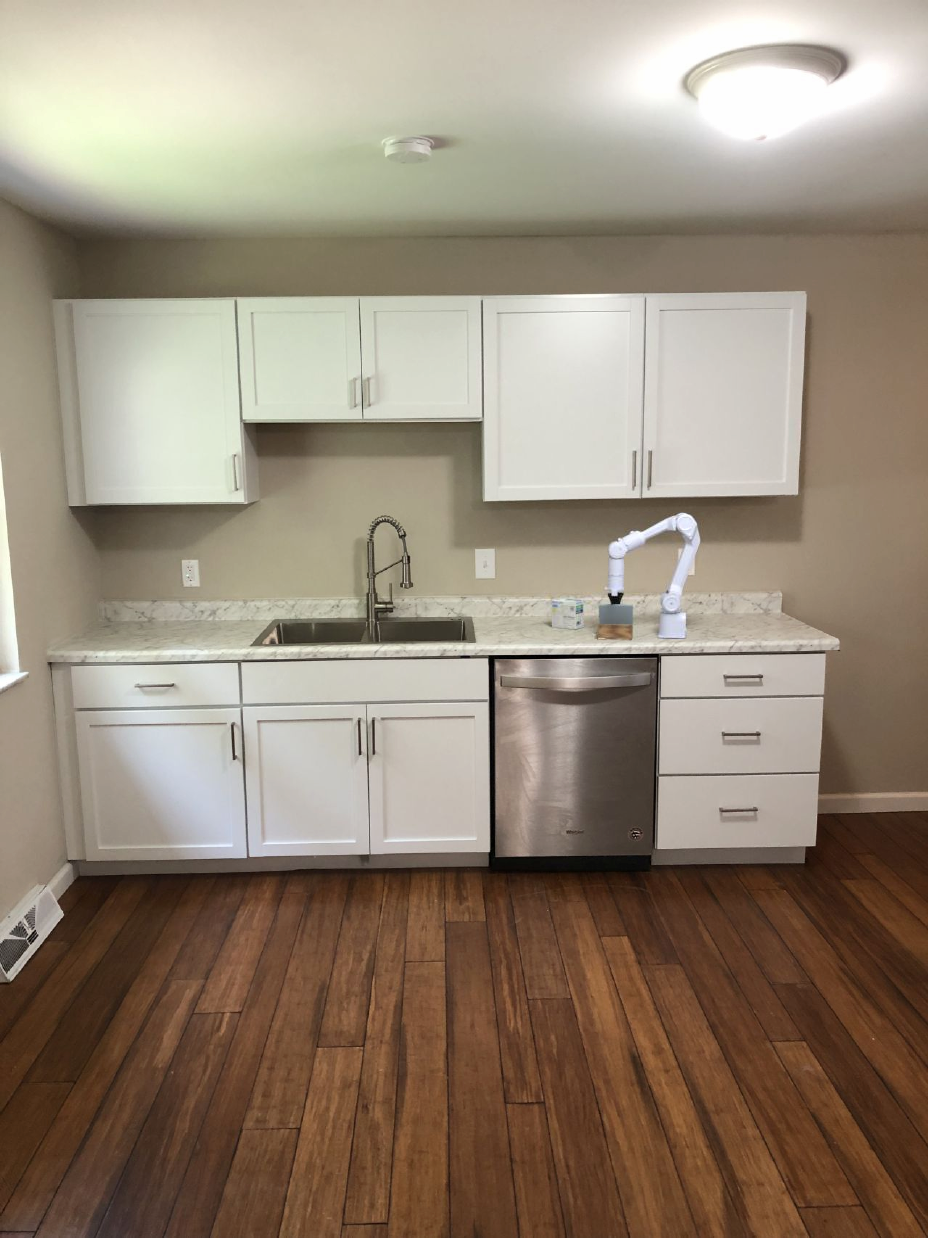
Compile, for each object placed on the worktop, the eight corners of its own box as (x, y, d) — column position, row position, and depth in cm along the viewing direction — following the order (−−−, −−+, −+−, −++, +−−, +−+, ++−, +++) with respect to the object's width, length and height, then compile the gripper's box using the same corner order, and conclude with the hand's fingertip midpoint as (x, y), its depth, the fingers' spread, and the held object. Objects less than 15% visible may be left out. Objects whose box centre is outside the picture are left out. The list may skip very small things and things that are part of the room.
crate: (632, 636, 337) (632, 625, 336) (631, 640, 329) (631, 629, 328) (599, 635, 339) (599, 624, 339) (597, 639, 332) (597, 628, 331)
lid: (632, 624, 336) (632, 622, 337) (632, 605, 332) (632, 603, 332) (599, 624, 339) (599, 622, 340) (598, 604, 334) (598, 602, 335)
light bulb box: (584, 627, 356) (584, 599, 354) (575, 630, 351) (576, 601, 349) (559, 625, 362) (559, 597, 360) (550, 627, 357) (550, 599, 355)
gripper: (606, 572, 341) (605, 609, 344) (603, 577, 327) (602, 616, 330) (625, 573, 340) (625, 609, 342) (623, 578, 326) (622, 616, 328)
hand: (615, 612), depth 336 cm, fingers closed, pressing on lid
